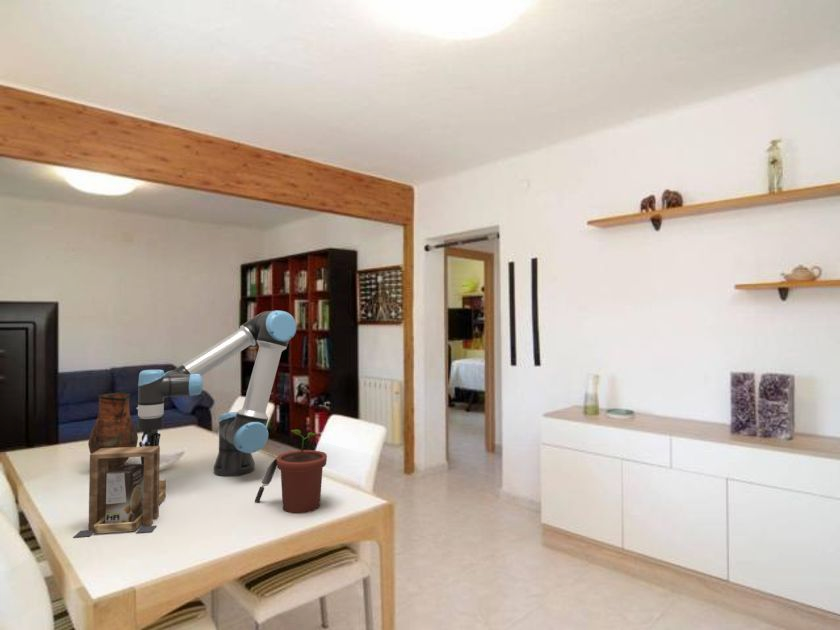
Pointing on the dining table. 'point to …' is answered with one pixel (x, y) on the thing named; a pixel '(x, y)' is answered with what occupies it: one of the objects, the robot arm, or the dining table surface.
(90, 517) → the brown open upright frame
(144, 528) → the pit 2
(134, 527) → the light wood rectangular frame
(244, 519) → the dining table surface
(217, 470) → the robot arm
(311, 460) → the potted plant
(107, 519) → the coffee box
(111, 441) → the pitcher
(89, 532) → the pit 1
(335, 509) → the dining table surface
